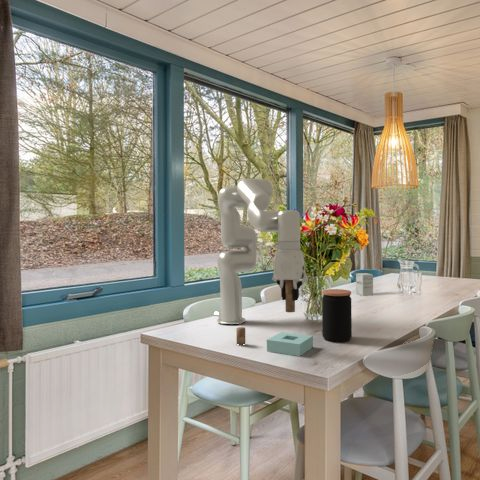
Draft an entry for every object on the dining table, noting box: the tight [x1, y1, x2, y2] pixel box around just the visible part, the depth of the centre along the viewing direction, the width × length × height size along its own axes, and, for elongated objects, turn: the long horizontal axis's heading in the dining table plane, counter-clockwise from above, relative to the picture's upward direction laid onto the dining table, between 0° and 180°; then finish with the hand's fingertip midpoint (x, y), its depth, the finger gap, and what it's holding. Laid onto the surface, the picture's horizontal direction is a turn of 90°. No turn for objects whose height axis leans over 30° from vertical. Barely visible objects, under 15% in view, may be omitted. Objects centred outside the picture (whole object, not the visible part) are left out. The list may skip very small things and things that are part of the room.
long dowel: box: [284, 280, 296, 313], centre depth 150 cm, size 3×3×12 cm
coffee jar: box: [321, 288, 353, 344], centre depth 163 cm, size 11×11×18 cm
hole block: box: [266, 331, 314, 357], centre depth 151 cm, size 12×12×4 cm
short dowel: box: [235, 326, 247, 345], centre depth 157 cm, size 3×3×6 cm
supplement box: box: [355, 272, 374, 297], centre depth 261 cm, size 7×7×13 cm
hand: (290, 299), depth 150 cm, fingers closed on long dowel, 3 cm apart
